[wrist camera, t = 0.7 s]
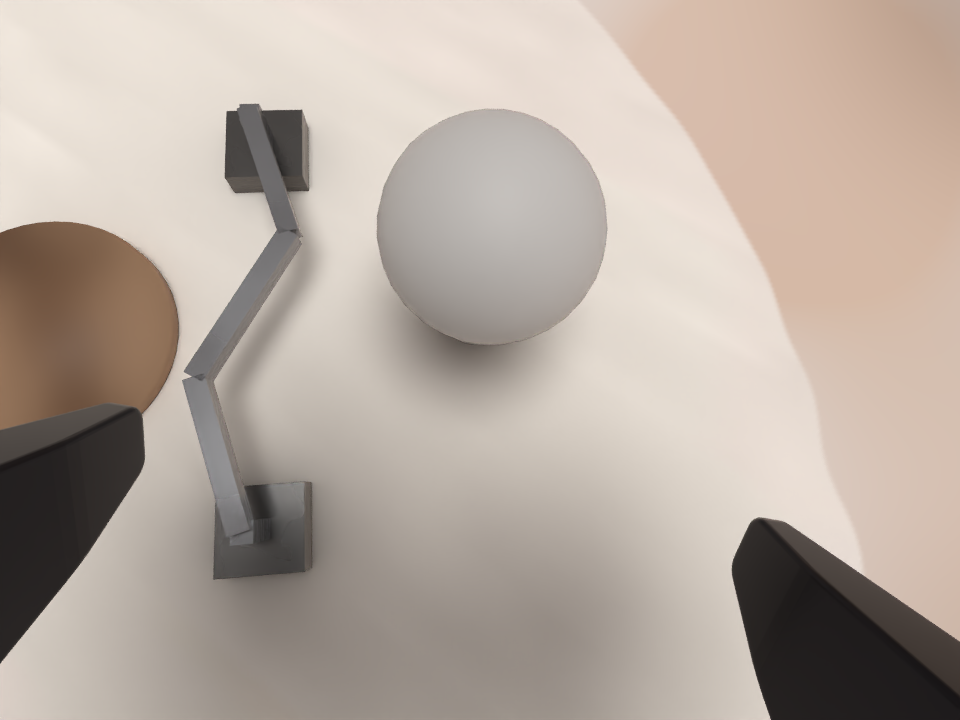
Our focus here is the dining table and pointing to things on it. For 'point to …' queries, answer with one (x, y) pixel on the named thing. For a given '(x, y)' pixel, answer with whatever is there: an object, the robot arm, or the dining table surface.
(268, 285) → the grey metal bracket
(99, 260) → the walnut coaster
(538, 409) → the dining table surface
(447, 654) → the dining table surface
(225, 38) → the dining table surface
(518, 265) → the lightbulb
